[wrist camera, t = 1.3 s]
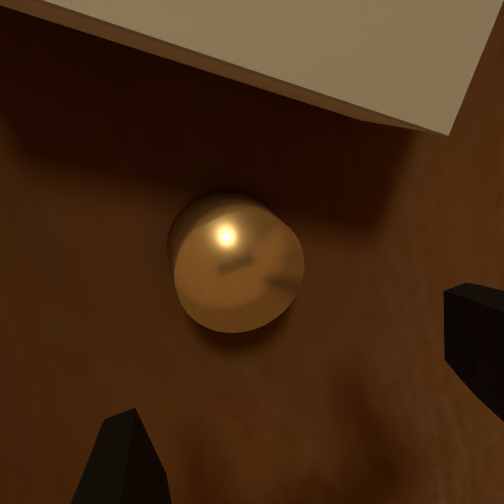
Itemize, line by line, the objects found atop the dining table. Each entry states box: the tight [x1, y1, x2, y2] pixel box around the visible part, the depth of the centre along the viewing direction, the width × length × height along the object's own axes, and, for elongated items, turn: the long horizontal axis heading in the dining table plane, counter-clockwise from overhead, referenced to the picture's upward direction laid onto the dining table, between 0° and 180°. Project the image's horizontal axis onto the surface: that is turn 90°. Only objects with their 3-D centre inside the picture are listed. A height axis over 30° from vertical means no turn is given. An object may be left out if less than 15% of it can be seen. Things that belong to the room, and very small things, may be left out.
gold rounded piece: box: [167, 190, 304, 333], centre depth 15 cm, size 4×4×3 cm
